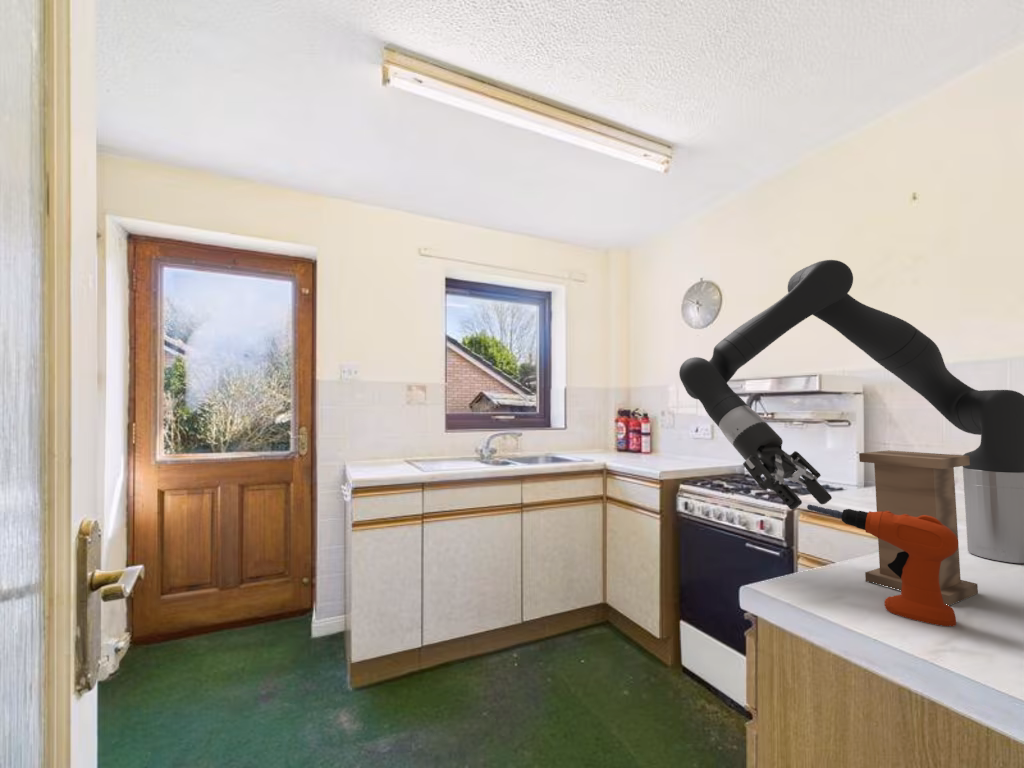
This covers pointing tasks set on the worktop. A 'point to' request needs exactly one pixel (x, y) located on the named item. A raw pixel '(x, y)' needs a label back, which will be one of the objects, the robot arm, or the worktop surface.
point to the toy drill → (910, 559)
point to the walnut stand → (918, 509)
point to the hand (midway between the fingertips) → (812, 504)
